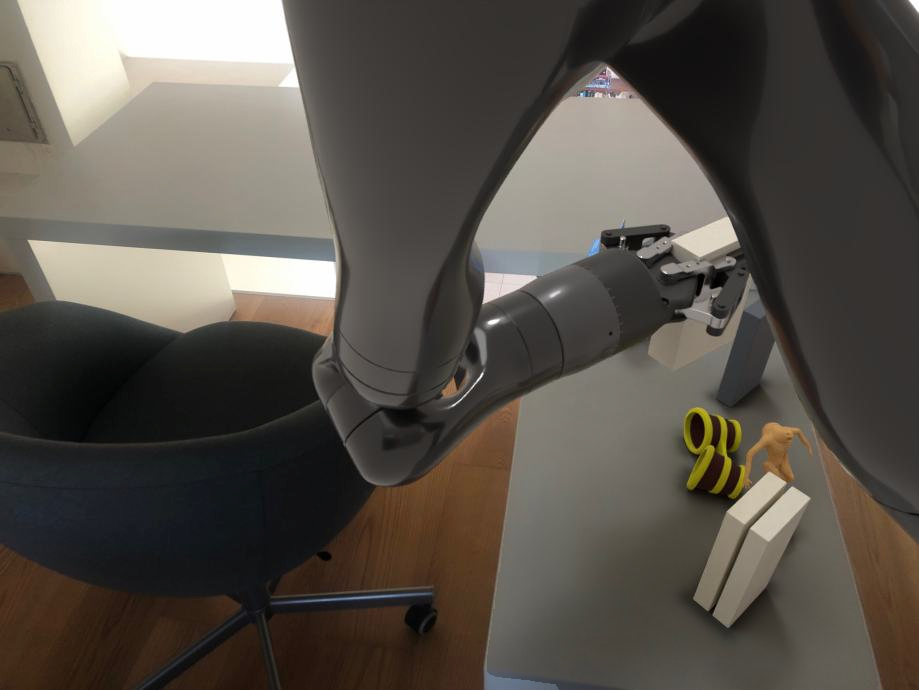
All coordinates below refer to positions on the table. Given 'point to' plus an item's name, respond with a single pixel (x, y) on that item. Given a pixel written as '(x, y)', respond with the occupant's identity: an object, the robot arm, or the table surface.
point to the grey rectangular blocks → (745, 354)
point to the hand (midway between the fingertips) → (738, 243)
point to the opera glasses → (713, 452)
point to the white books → (749, 547)
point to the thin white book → (690, 337)
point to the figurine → (775, 451)
